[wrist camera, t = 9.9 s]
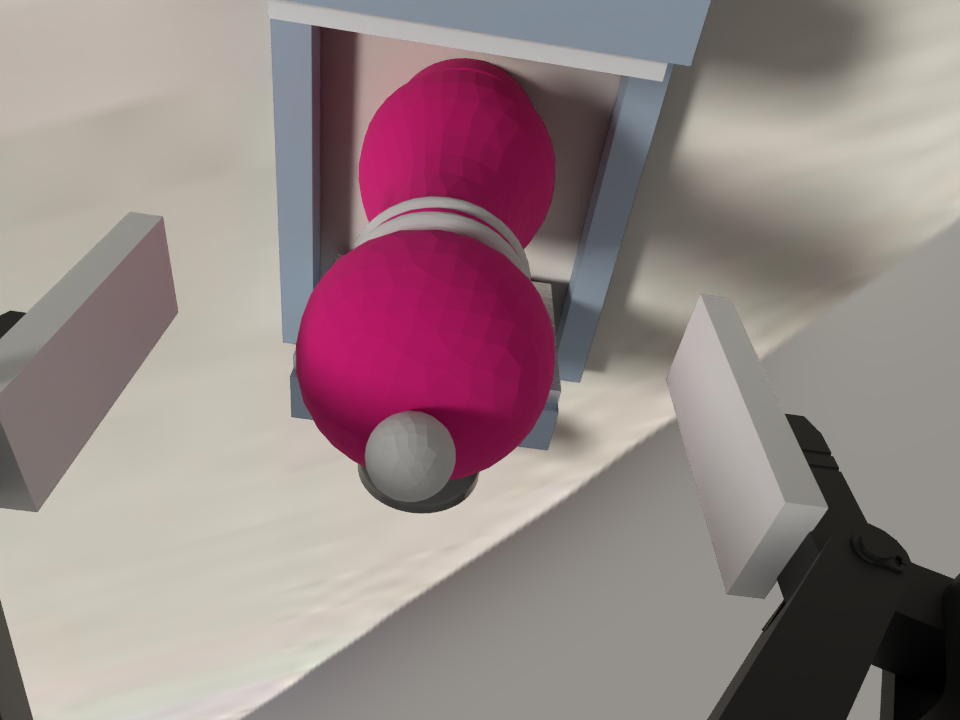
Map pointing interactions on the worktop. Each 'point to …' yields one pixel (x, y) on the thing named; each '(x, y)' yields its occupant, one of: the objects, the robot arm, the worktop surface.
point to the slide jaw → (464, 486)
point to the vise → (500, 31)
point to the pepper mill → (437, 287)
